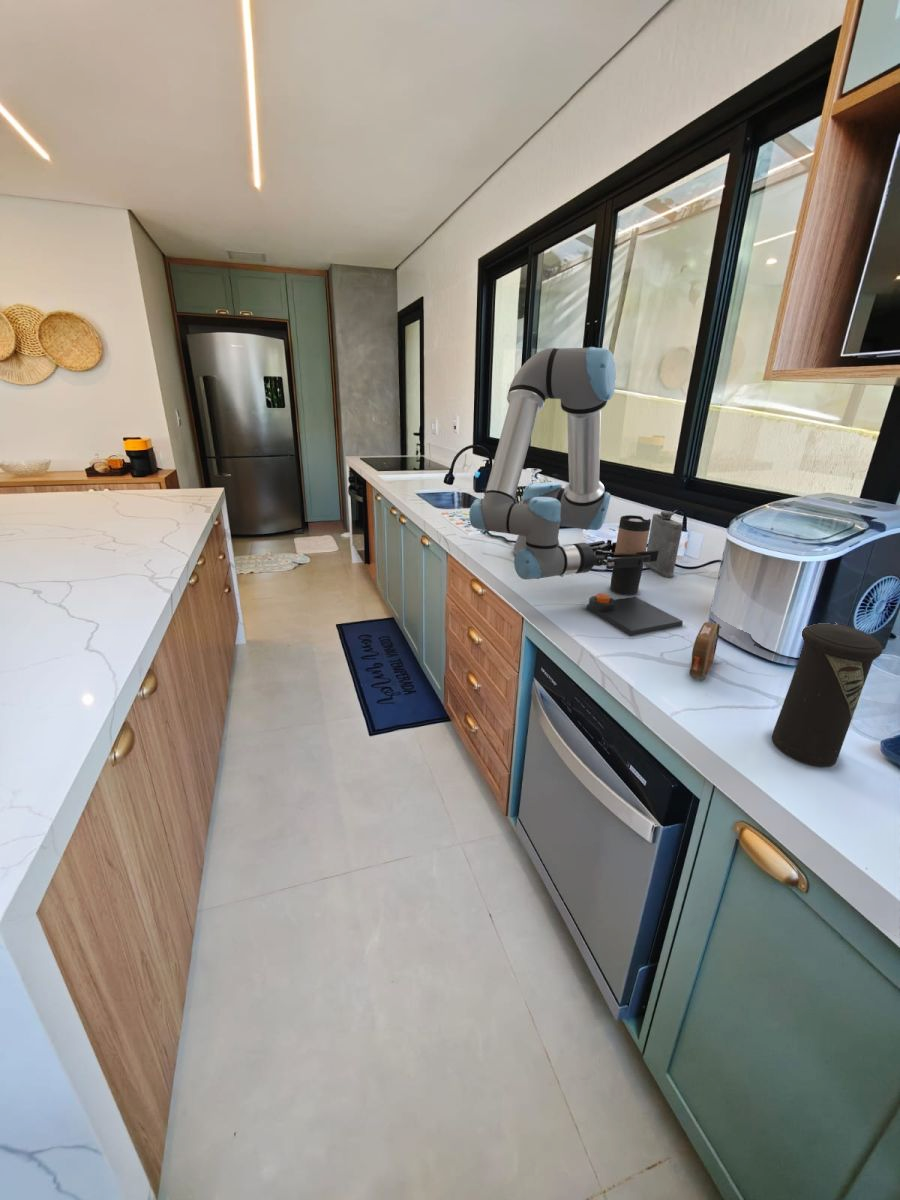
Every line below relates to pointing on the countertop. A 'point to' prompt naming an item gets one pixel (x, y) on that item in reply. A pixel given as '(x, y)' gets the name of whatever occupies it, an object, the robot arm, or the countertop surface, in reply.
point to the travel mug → (630, 542)
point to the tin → (704, 650)
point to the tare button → (602, 598)
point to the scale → (633, 615)
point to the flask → (664, 543)
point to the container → (824, 692)
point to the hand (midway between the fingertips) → (643, 550)
